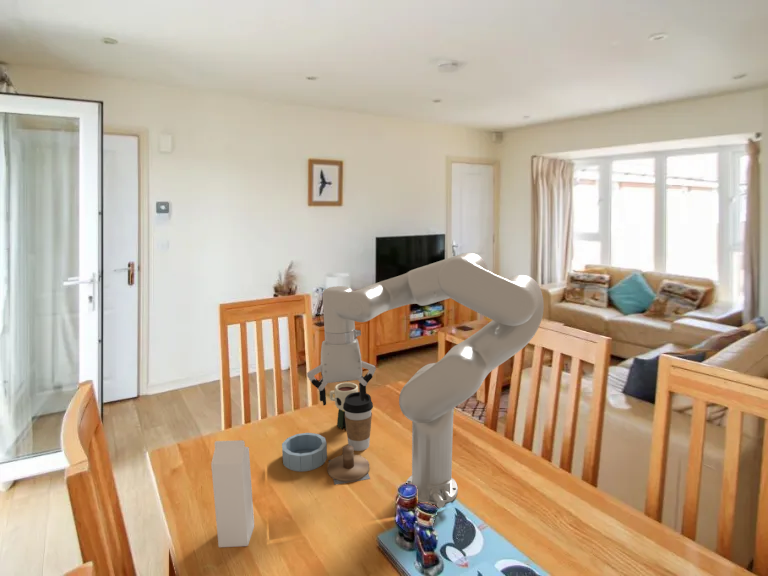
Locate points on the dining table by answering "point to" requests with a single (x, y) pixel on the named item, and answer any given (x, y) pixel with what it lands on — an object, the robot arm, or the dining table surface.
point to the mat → (351, 481)
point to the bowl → (304, 451)
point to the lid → (348, 466)
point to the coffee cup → (358, 420)
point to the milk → (232, 493)
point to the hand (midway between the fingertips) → (343, 401)
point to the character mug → (342, 399)
